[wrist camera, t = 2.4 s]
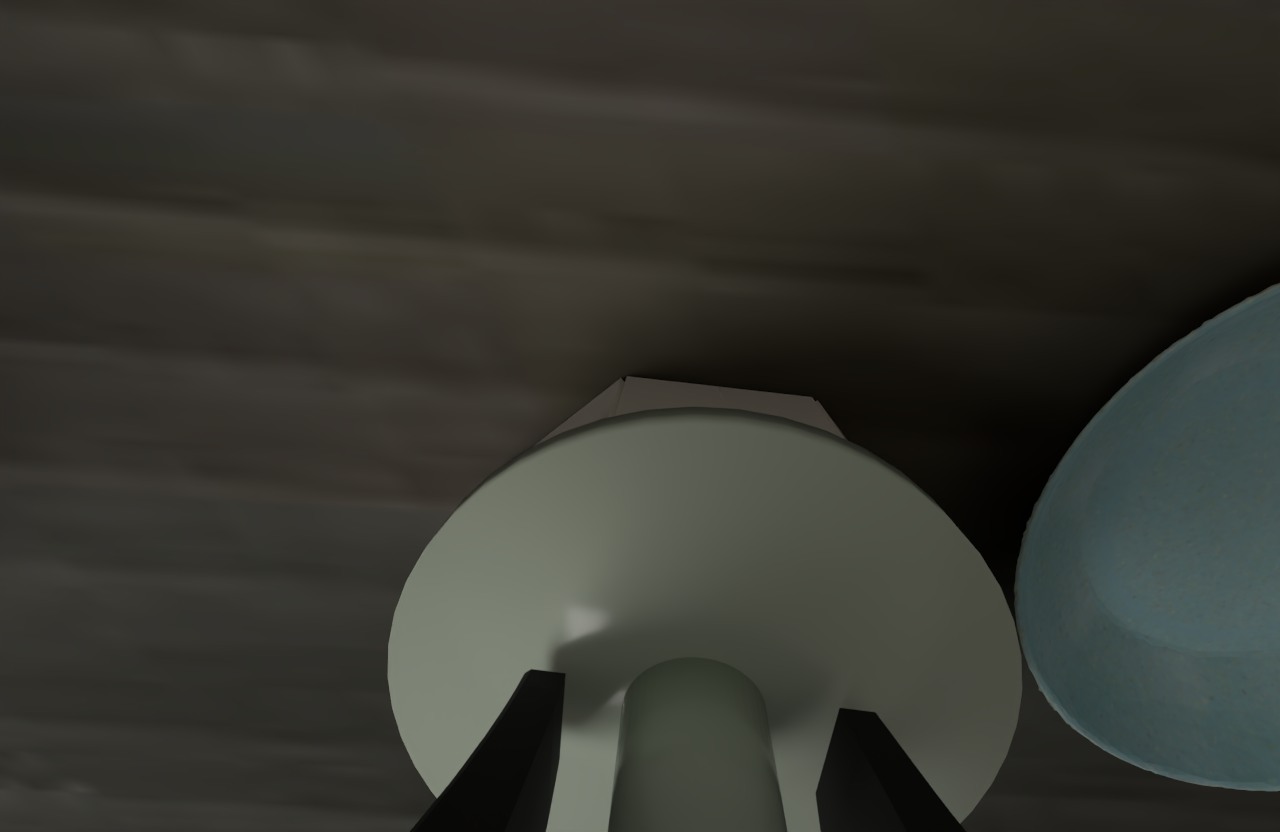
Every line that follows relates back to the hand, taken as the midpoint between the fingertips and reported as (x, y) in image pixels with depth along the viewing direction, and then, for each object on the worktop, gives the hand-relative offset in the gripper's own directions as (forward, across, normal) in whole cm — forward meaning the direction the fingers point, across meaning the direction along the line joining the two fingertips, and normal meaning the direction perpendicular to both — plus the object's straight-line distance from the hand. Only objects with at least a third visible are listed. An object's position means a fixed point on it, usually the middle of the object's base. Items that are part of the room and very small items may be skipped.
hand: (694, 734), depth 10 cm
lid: (+1, 0, 0) cm, 1 cm away
